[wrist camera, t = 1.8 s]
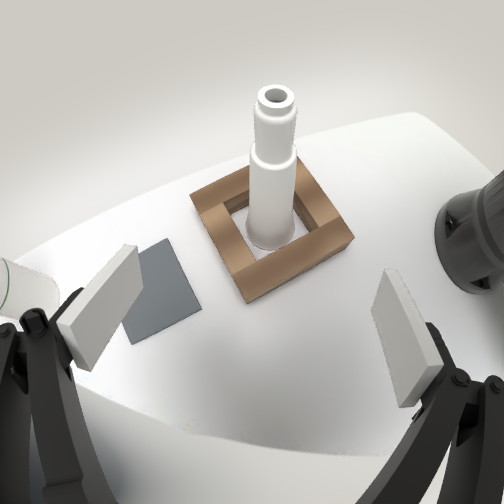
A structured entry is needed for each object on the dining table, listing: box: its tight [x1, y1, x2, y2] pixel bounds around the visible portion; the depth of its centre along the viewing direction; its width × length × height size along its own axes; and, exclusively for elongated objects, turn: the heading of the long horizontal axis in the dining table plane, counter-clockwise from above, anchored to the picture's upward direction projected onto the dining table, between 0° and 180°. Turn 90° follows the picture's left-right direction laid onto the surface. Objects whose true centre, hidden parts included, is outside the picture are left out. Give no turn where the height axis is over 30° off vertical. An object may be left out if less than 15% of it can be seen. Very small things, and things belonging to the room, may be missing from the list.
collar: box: [190, 156, 355, 304], centre depth 35 cm, size 14×14×4 cm
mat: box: [121, 238, 202, 345], centre depth 35 cm, size 10×10×1 cm
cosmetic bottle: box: [245, 85, 297, 250], centre depth 26 cm, size 6×6×22 cm
